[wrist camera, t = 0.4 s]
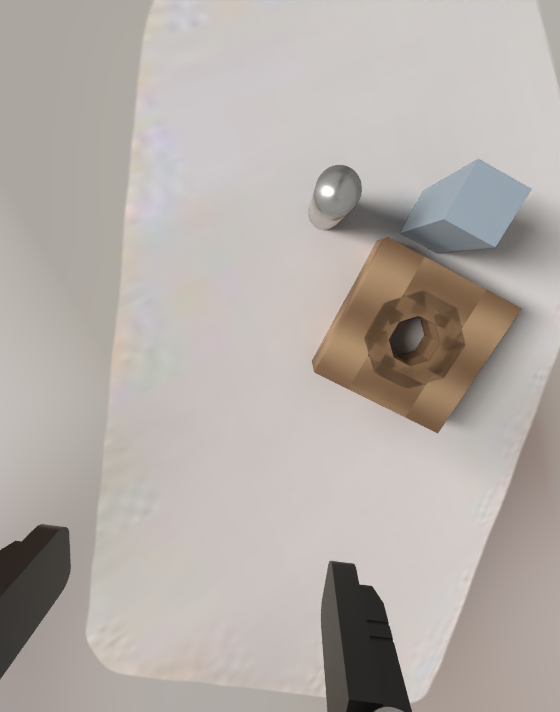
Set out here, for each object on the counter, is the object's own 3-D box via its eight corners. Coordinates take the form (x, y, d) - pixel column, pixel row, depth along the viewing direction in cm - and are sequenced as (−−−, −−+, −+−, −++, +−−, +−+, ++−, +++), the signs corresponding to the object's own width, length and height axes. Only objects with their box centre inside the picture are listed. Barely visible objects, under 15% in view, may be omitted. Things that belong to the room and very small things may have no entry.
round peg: (318, 189, 33) (328, 156, 23) (347, 204, 33) (370, 178, 23) (302, 220, 33) (307, 201, 24) (331, 235, 34) (347, 223, 24)
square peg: (422, 191, 32) (478, 158, 23) (460, 212, 33) (531, 188, 23) (399, 232, 33) (443, 218, 24) (436, 253, 34) (495, 247, 24)
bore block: (377, 240, 34) (388, 237, 30) (495, 303, 35) (521, 308, 31) (312, 361, 37) (314, 372, 33) (422, 416, 38) (437, 433, 34)
